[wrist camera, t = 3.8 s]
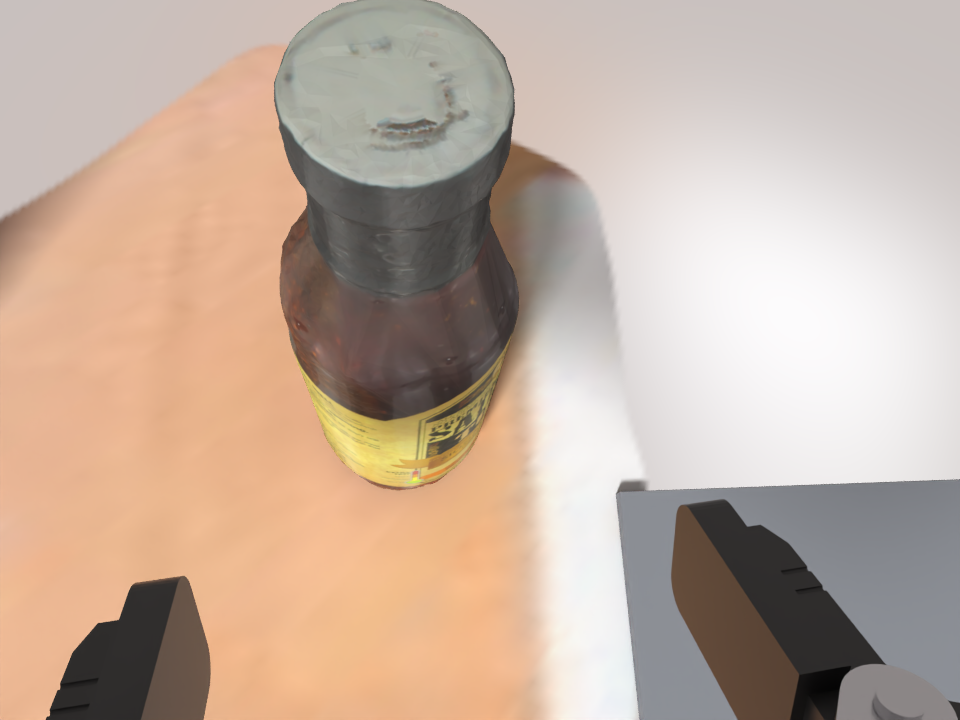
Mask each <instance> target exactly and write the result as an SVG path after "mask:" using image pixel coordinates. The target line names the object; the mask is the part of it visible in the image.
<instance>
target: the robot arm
mask: <svg viewBox="0 0 960 720" xmlns="http://www.w3.org/2000/svg"><path fill="white" fill-rule="evenodd" d="M671 583H672V590H673V594H674V598H675V602H676V605H677V607H678V610H679V612H680V614H681V616H682V617H683V619H684V621H685V623H686V625H687V627H688V629H689V630H690V632H691V634H692V636H693V638H694V640H695V642H696V643H697V645H698V647H699V649H700V651H701V653H702V655H703V656H704V658H705V660H706V662H707V664H708V666H709V668H710V669H711V671H712V673H713V675H714V677H715V679H716V681H717V682H718V684H719V686H720V688H721V690H722V692H723V694H724V695H725V697H726V699H727V701H728V703H729V705H730V707H731V708H732V710H733V712H734V714H735V716H736V718H737V720H960V703H959V702H953V701H949V700H947V699H946V698H945V696H944V695H943V694H942V693H941V692H940V691H939V690H938V689H937V688H935V687H934V686H933V685H931V684H930V683H929V682H927V681H926V680H924V679H923V678H921V677H919V676H917V675H915V674H913V673H911V672H909V671H907V670H904V669H901V668H898V667H894V666H890V665H886V664H885V663H884V662H883V660H882V659H881V658H880V657H879V655H878V654H877V653H876V652H875V650H874V649H873V648H872V647H871V645H870V644H869V643H868V642H867V640H866V639H865V638H864V637H863V635H862V634H861V633H860V632H859V630H858V629H857V628H856V627H855V625H854V624H853V623H852V622H851V620H850V619H849V618H848V617H847V615H846V614H845V613H844V612H843V610H842V609H841V608H840V607H839V605H838V604H837V603H836V602H835V600H834V599H833V598H832V597H831V595H830V594H829V593H828V592H827V590H826V591H824V590H823V585H822V584H821V583H820V582H819V580H818V579H817V578H816V577H815V575H814V574H813V573H812V572H811V571H808V569H807V565H806V564H805V563H804V562H803V560H802V559H801V558H800V557H799V555H798V554H797V553H796V552H795V550H794V549H793V548H792V547H791V545H790V544H789V543H788V542H786V541H785V540H783V539H782V538H780V537H779V536H777V535H776V534H774V533H773V532H771V531H770V530H768V529H767V528H765V527H764V526H762V525H755V526H748V527H747V525H746V524H745V523H744V521H743V520H742V519H741V517H740V516H739V515H738V513H737V512H736V511H735V509H734V508H733V507H732V505H731V504H730V503H729V502H728V501H727V500H725V499H718V500H711V501H704V502H697V503H691V504H684V505H680V506H679V508H678V510H677V514H676V523H675V535H674V546H673V557H672V568H671ZM60 686H61V688H60V690H58V691H57V693H56V696H55V698H54V701H53V703H52V706H51V708H50V716H49V717H47V718H46V720H203V719H204V714H205V708H206V703H207V698H208V692H209V686H210V655H209V648H208V644H207V640H206V637H205V634H204V630H203V627H202V623H201V620H200V616H199V613H198V610H197V606H196V603H195V599H194V596H193V592H192V589H191V586H190V583H189V581H188V579H187V578H186V577H185V576H180V577H173V578H166V579H159V580H153V581H146V582H139V583H135V584H133V585H132V586H131V588H130V590H129V593H128V596H127V598H126V601H125V604H124V607H123V610H122V613H121V616H120V619H119V620H117V621H110V622H103V623H98V624H97V625H96V626H95V627H94V629H93V630H92V631H91V632H90V633H89V634H88V635H87V637H86V638H85V639H84V640H83V641H82V642H81V644H80V645H79V646H78V647H77V648H76V649H75V650H74V652H73V653H72V656H71V658H70V661H69V663H68V666H67V668H66V671H65V673H64V676H63V678H62V681H61V683H60Z"/></svg>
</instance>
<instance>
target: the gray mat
mask: <svg viewBox="0 0 960 720" xmlns="http://www.w3.org/2000/svg"><path fill="white" fill-rule="evenodd" d="M616 499H617V508H618V518H619V527H620V537H621V547H622V556H623V566H624V575H625V585H626V594H627V604H628V614H629V623H630V633H631V642H632V652H633V662H634V671H635V681H636V690H637V700H638V710H639V719H640V720H737V718H736V716H735V714H734V712H733V710H732V708H731V707H730V705H729V703H728V701H727V699H726V697H725V695H724V694H723V692H722V690H721V688H720V686H719V684H718V682H717V681H716V679H715V677H714V675H713V673H712V671H711V669H710V668H709V666H708V664H707V662H706V660H705V658H704V656H703V655H702V653H701V651H700V649H699V647H698V645H697V643H696V642H695V640H694V638H693V636H692V634H691V632H690V630H689V629H688V627H687V625H686V623H685V621H684V619H683V617H682V616H681V614H680V612H679V610H678V607H677V605H676V602H675V598H674V594H673V590H672V583H671V568H672V557H673V546H674V535H675V523H676V514H677V510H678V508H679V506H680V505H684V504H691V503H697V502H704V501H711V500H718V499H725V500H727V501H728V502H729V503H730V504H731V505H732V507H733V508H734V509H735V511H736V512H737V513H738V515H739V516H740V517H741V519H742V520H743V521H744V523H745V524H746V525H747V527H748V526H755V525H762V526H764V527H765V528H767V529H768V530H770V531H771V532H773V533H774V534H776V535H777V536H779V537H780V538H782V539H783V540H785V541H786V542H788V543H789V544H790V545H791V547H792V548H793V549H794V550H795V552H796V553H797V554H798V555H799V557H800V558H801V559H802V560H803V562H804V563H805V564H806V565H807V569H808V571H811V572H812V573H813V574H814V575H815V577H816V578H817V579H818V580H819V582H820V583H821V584H822V585H823V590H824V591H826V590H827V592H828V593H829V594H830V595H831V597H832V598H833V599H834V600H835V602H836V603H837V604H838V605H839V607H840V608H841V609H842V610H843V612H844V613H845V614H846V615H847V617H848V618H849V619H850V620H851V622H852V623H853V624H854V625H855V627H856V628H857V629H858V630H859V632H860V633H861V634H862V635H863V637H864V638H865V639H866V640H867V642H868V643H869V644H870V645H871V647H872V648H873V649H874V650H875V652H876V653H877V654H878V655H879V657H880V658H881V659H882V660H883V662H884V663H885V664H886V665H890V666H894V667H898V668H901V669H904V670H907V671H909V672H911V673H913V674H915V675H917V676H919V677H921V678H923V679H924V680H926V681H927V682H929V683H930V684H931V685H933V686H934V687H935V688H937V689H938V690H939V691H940V692H941V693H942V694H943V695H944V696H945V698H946V699H947V700H949V701H953V702H959V703H960V479H959V480H932V481H904V482H878V483H851V484H850V483H849V484H824V485H823V484H821V485H794V486H766V487H741V488H740V487H739V488H711V489H684V490H656V491H629V492H619V493H617V494H616Z"/></svg>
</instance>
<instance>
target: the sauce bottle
mask: <svg viewBox="0 0 960 720" xmlns="http://www.w3.org/2000/svg"><path fill="white" fill-rule="evenodd" d="M274 102H275V107H276V112H277V115H278V119H279V130H280V132H281V135H282V139H283V142H284V147H285V151H286V155H287V158H288V161H289V163H290V166H291V168H292V170H293V172H294V174H295V176H296V177H297V179H298V180H299V182H300V184H301V185H302V186H303V187H304V188H305V190H306V193H307V206H306V209H305V210H304V212H303V213H302V215H301V216H300V217H299V219H298V221H297V222H296V223H295V224H294V225H293V226H292V227H291V230H290V232H289V234H288V236H287V238H286V240H285V241H284V243H283V246H282V257H281V273H280V297H281V304H282V308H283V312H284V316H285V319H286V322H287V325H288V328H289V335H290V341H291V345H292V348H293V351H294V354H295V357H296V360H297V362H298V365H299V367H300V370H301V372H302V375H303V378H304V380H305V383H306V385H307V388H308V391H309V393H310V396H311V398H312V401H313V404H314V406H315V409H316V412H317V414H318V417H319V420H320V422H321V425H322V428H323V431H324V434H325V437H326V439H327V441H328V443H329V444H330V446H331V447H332V449H333V450H334V452H335V453H336V454H337V456H338V457H339V458H340V459H341V461H342V462H343V463H344V464H345V465H347V466H348V467H349V468H350V469H351V470H352V471H354V473H356V474H357V475H359V476H360V477H362V478H363V479H365V480H367V481H368V482H369V483H372V484H374V485H376V486H378V487H381V488H387V489H393V490H405V489H413V488H417V487H421V486H424V485H426V484H433V483H435V482H437V481H438V480H440V479H441V478H442V477H444V476H445V475H446V474H447V473H448V472H450V471H451V470H453V469H454V468H455V467H456V466H457V465H458V464H459V463H460V462H461V461H462V460H463V459H464V458H465V457H466V456H467V454H468V453H469V451H470V450H471V448H472V447H473V445H474V443H475V441H476V439H477V437H478V434H479V431H480V428H481V425H482V423H483V420H484V417H485V414H486V411H487V408H488V406H489V403H490V400H491V396H492V394H493V391H494V387H495V385H496V383H497V380H498V376H499V373H500V370H501V366H502V363H503V360H504V358H505V355H506V352H507V349H508V346H509V343H510V340H511V336H512V333H513V330H514V327H515V323H516V320H517V314H518V308H519V294H518V287H517V282H516V278H515V275H514V272H513V270H512V267H511V265H510V264H509V262H508V261H507V258H506V256H505V254H504V252H503V249H502V247H501V245H500V243H499V240H498V238H497V236H496V234H495V231H494V229H493V227H492V225H491V223H490V206H489V200H490V197H491V189H492V187H493V185H494V184H495V183H496V181H497V180H498V179H499V177H500V175H501V173H502V170H503V168H504V165H505V163H506V160H507V158H508V155H509V150H510V144H511V133H512V124H513V118H514V111H515V109H514V108H515V105H514V104H515V102H514V87H513V83H512V78H511V75H510V73H509V71H508V68H507V64H506V60H505V57H504V56H503V54H502V53H501V52H500V51H499V50H498V49H497V48H496V46H495V45H494V44H493V42H492V41H491V40H490V39H489V37H488V36H487V35H486V34H485V33H484V32H483V31H482V30H481V29H479V28H478V27H477V26H476V25H475V24H473V23H472V22H471V21H470V20H469V19H468V18H467V17H465V16H464V15H462V14H460V13H458V12H457V11H454V10H451V9H449V8H447V7H445V6H443V5H442V4H439V3H437V2H432V1H427V0H357V1H354V2H347V3H341V4H339V5H338V6H336V7H335V8H333V9H331V10H329V11H326V12H324V13H322V14H320V15H318V16H317V17H316V18H315V19H313V20H312V21H311V22H309V23H308V24H307V25H306V26H305V27H304V28H302V29H301V30H300V31H299V32H298V33H297V34H296V35H295V37H294V38H293V39H292V41H291V42H290V44H289V46H288V48H287V49H286V51H285V53H284V56H283V59H282V62H281V65H280V68H279V71H278V73H277V76H276V79H275V82H274Z"/></svg>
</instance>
